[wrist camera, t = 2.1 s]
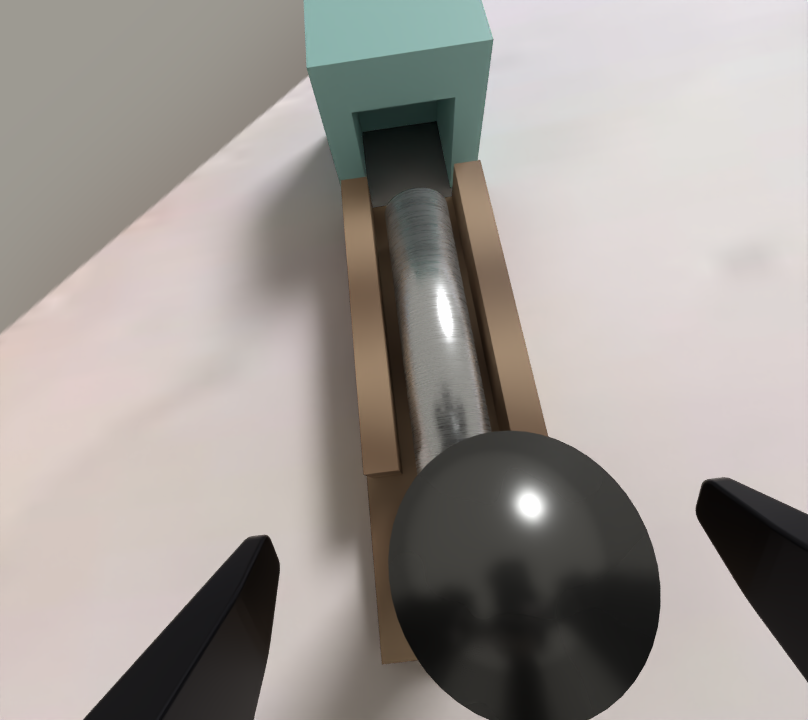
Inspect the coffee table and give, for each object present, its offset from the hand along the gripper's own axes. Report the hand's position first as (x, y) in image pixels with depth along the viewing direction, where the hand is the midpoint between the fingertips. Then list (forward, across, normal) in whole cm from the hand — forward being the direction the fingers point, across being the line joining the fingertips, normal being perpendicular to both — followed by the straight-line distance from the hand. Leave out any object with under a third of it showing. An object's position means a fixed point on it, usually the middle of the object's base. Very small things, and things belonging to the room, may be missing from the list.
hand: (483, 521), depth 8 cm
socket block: (+19, 0, -8) cm, 21 cm away
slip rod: (+8, 0, +1) cm, 9 cm away
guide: (+9, 0, +2) cm, 9 cm away
